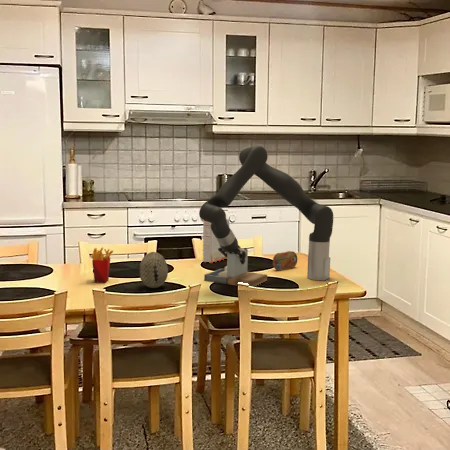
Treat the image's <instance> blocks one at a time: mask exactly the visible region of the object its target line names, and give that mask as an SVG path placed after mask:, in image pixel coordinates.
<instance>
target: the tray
mask: <svg viewBox="0 0 450 450" xmlns="http://www.w3.org/2000/svg"><path fill="white" fill-rule="evenodd" d="M223 271H225V268H222V267H221V268H219V269H216V270H214V271H211V272H208V273H205V274H204V275H203V276H204V277H203V278H204V281H205V282H209V283H210V282H211V283H216V284H224V285H228V284H227V278H225V277H219V274H218V273H221V272H223Z"/></svg>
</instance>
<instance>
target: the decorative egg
mask: <svg viewBox="0 0 450 450" xmlns="http://www.w3.org/2000/svg"><path fill="white" fill-rule="evenodd" d="M138 273H139V278H140V281H141V283H142V284H143V285H144V286H146V287H148V288H150V289H157V288H159V287H161V286H163V285H164V284H165V282H166V281H167V278H168V276H169V270H168V264H167V260H166V259H165V257H164V256H163V255H162V254H160V253H159V252H156V251H151V252H148V253H147V254H145V255H144V256H143V258H142V259H141V262H140V264H139V267H138Z"/></svg>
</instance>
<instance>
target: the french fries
mask: <svg viewBox="0 0 450 450" xmlns="http://www.w3.org/2000/svg"><path fill="white" fill-rule="evenodd" d="M103 250H104V252H105V254H104V253H103ZM113 253H114V250H111V249H110V248H108V249H107V250H106V248H104V247H103V246H102V247H101V248H100V249H97V247H94V248H93V252H92V254H91V259H92V270H93V272H92V273H93V280H94V281H93V282H94V283H98V284H99V283H101V284H107V282H108V281H109V280H110V279H109V277H110V266H111V256H112V254H113Z"/></svg>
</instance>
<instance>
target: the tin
mask: <svg viewBox="0 0 450 450" xmlns="http://www.w3.org/2000/svg"><path fill="white" fill-rule="evenodd" d="M297 263H298V255H297V253H296V251H291V250H287V251H282V252H277V253H276V254H274V256H273V258H272V267H273V268H274V269H275V270H276V271H287V270H292V269H294V268H295V267H296V265H297Z"/></svg>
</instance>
